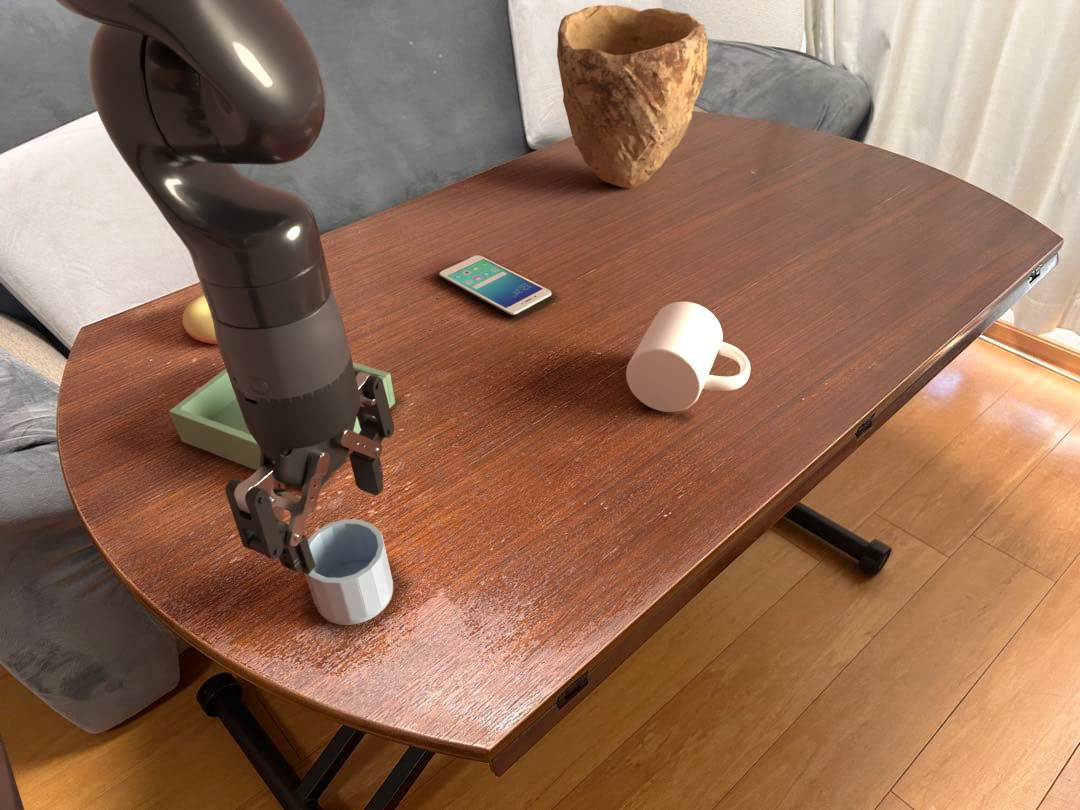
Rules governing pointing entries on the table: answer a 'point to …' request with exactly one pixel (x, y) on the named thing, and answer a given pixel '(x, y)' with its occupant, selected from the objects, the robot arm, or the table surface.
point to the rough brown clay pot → (629, 86)
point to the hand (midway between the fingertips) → (337, 526)
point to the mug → (681, 359)
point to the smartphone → (495, 286)
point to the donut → (199, 321)
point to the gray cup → (349, 572)
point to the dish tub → (233, 419)
